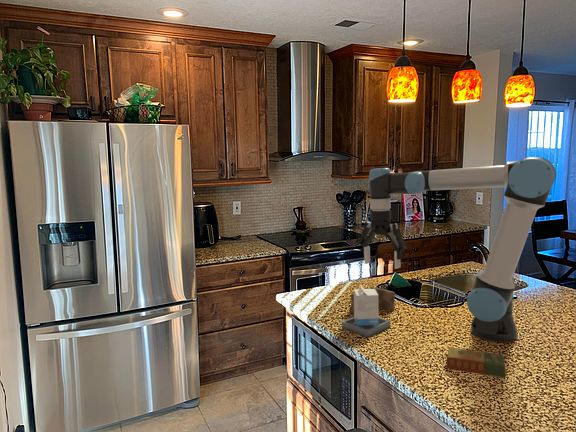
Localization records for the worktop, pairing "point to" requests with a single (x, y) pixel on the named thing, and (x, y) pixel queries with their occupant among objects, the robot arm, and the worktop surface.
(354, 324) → the tray
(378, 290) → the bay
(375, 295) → the ink box
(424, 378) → the worktop surface
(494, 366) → the carton
